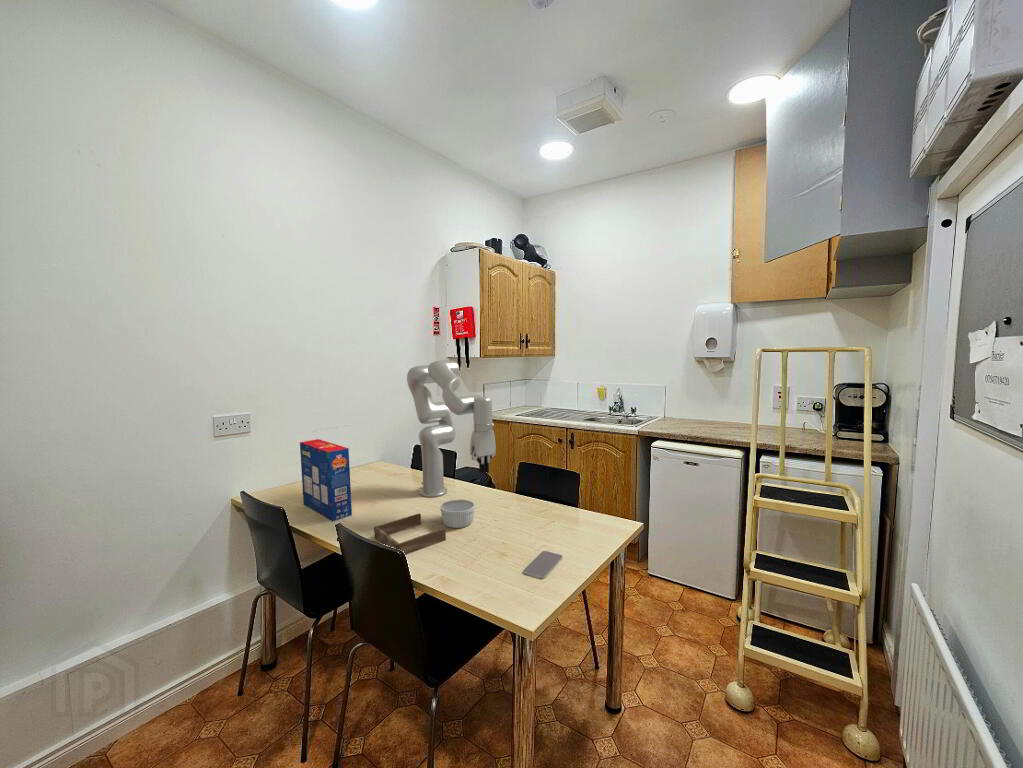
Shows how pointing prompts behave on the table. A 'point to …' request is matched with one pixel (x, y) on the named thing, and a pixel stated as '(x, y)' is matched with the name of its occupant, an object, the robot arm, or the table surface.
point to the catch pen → (410, 545)
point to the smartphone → (542, 564)
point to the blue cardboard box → (326, 478)
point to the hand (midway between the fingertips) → (484, 472)
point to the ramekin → (457, 513)
